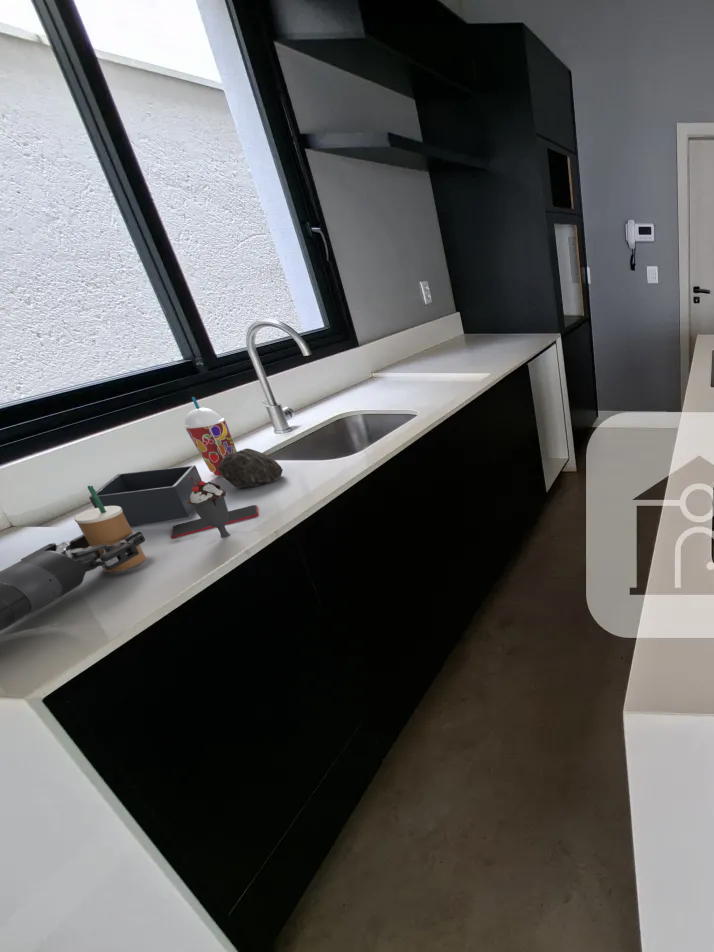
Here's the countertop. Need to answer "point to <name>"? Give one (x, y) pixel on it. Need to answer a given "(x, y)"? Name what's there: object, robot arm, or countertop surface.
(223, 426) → the smoothie
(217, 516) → the sundae
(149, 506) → the bin
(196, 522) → the smartphone
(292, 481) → the countertop surface
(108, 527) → the takeaway cup
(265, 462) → the rock
